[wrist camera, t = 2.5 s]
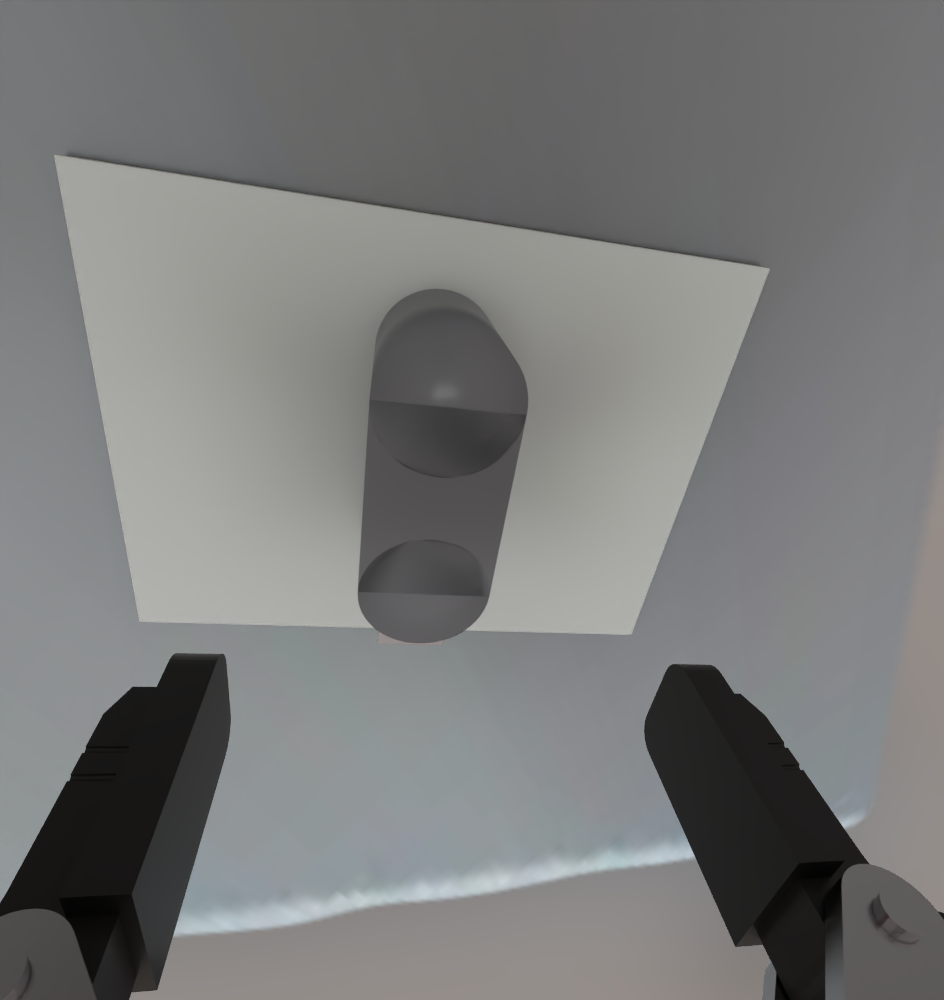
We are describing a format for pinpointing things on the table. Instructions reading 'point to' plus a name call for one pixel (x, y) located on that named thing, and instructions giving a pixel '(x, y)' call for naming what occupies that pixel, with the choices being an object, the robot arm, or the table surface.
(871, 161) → the table surface
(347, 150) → the table surface
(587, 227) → the table surface
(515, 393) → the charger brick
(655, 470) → the rubber mat
